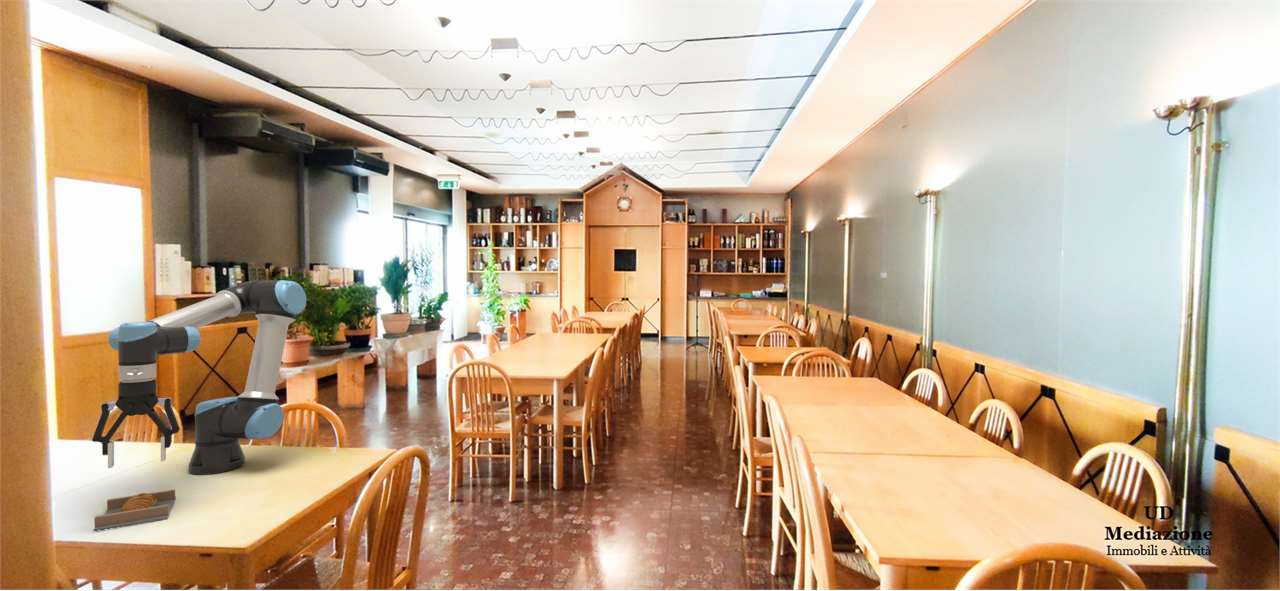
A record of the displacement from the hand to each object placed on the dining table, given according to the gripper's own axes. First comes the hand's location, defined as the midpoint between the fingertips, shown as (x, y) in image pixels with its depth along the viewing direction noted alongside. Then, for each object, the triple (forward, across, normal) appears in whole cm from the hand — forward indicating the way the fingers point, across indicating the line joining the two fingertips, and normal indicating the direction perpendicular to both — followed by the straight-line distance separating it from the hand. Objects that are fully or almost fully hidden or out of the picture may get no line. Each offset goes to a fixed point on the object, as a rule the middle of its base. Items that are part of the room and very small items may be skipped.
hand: (137, 463), depth 147 cm
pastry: (+13, 0, 0) cm, 13 cm away
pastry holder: (+14, 0, 0) cm, 14 cm away
